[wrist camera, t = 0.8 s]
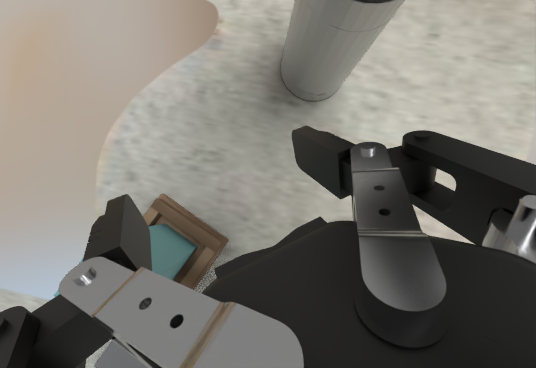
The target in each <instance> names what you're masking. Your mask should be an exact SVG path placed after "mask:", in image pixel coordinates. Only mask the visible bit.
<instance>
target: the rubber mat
mask: <svg viewBox="0 0 536 368" xmlns="http://www.w3.org/2000/svg"><path fill="white" fill-rule="evenodd" d="M94 367H96V368H148V367H147V366H145V365H144V364H143V363H141V362H140V361H139V360H137V359H136V358H135V357H133V356H132V355H131V354H129V353H128V352H127V351H125V350H124V349H123V348H122V347H120V346H119V345H118V344H116V343H115V342H114V341H112V342H111V343H110V345H109V346H108V347H107V349H106V350H105V352H104V353H103V354H102V356H101V357H100V358H99V360H98V361H97V362H96V364H95V365H94Z"/></svg>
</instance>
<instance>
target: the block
mask: <svg viewBox="0 0 536 368" xmlns="http://www.w3.org/2000/svg"><path fill="white" fill-rule="evenodd" d="M149 230H150V238H151V258H152V272H155V273H157V274H159V275H161V276H164V277H166V278H168V279H170V280H172V281H173V280H174V279H175V277H176V276H177V275H178V273H179V272H180V271H181V269H182V268H183V266H184V265H185V264H186V262H187V261H188V260H189V258H190V257H191V255H192V254H193V253H194V251H195V250H196V249H197V247H198V246H197V245H196V244H194V243H193V242H191V241H190V240H188V239H187V238H186V237H184V236H183V235H181V234H180V233H179V232H177V231H176V230H174V229H173V228H172V227H170V226H169V225H167V224H166V223H165V224H160V225H154V226H149ZM82 262H83V259H82V260H81V262H80V263H82ZM80 263H79V264H80ZM79 264H78V265H79ZM59 294H60V293H59V291H57V292H56V294H55V295H54V296H55V297H56V296H58V295H59Z"/></svg>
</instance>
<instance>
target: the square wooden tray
mask: <svg viewBox="0 0 536 368" xmlns="http://www.w3.org/2000/svg"><path fill="white" fill-rule="evenodd" d="M143 218H144V219H145V221H146V223H147V225H148V227H149V226H154V225H160V224H165V223H166V224H167V225H169V226H170V227H172V228H173V229H174V230H176V231H177V232H179V233H180V234H181V235H183V236H184V237H186V238H187V239H188V240H190V241H191V242H193V243H194V244H196V245H197V246H198V247H197V249H196V250H195V251H194V253H193V254H192V255H191V257H190V258H189V260H188V261H187V262H186V264H185V265H184V266H183V268H182V269H181V271H180V272H179V273H178V275H177V276H176V277H175V279H174V280H173V281H175V282H177V283H179V284H181V285H184V286H186V287H188V288H190V289H193V290H194V288H195V287H196V285H197V284H198V283H199V281H200V280H201V278H202V277H203V276H204V274H205V273H206V271H207V270H208V269H209V267H210V266H211V264H212V263H213V262H214V260H215V259H216V257H217V256H218V255H219V253H220V252H221V250H222V249H223V248H224V246H225V245H226V243H227V242H228V239H227V238H226V237H224V236H223V235H221V234H220V233H219V232H217V231H216V230H214V229H213V228H211V227H210V226H209V225H207V224H206V223H204V222H203V221H202V220H200V219H199V218H197V217H196V216H195V215H193V214H192V213H190V212H189V211H188V210H186V209H185V208H183V207H182V206H180V205H179V204H178V203H176V202H175V201H173V200H172V199H171V198H169V197H168V196H166V195H165V194H161V195H160V196H159V198H158V199H156V200H155V201H154V203H153V204H152V205H151V206H150V208H149V209H148V210H147V212H146V213H145V214H144V216H143Z"/></svg>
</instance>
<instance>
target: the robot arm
mask: <svg viewBox="0 0 536 368" xmlns="http://www.w3.org/2000/svg"><path fill="white" fill-rule="evenodd" d="M404 1H405V0H295V2H294V6H293V11H292V16H291V20H290V25H289V29H288V34H287V38H286V43H285V47H284V52H283V56H282V61H281V76H282V79H283V81H284V83H285V85H286V87H287V88H288V89H289V90H290V91H291V92H292V93H293V94H294V95H296V96H298V97H299V98H302V99H305V100H310V101H318V100H323V99H326V98H328V97H330V96H331V95H333V94H334V93H335V92H336V91H337V90H338V89H339V87H340V86H341V85H342V83H343V82H344V81H345V79H346V78H347V77H348V76H349V74H350V73H351V72H352V70H353V69H354V68H355V66H356V65H357V64H358V62H359V61H360V60H361V58H362V57H363V56H364V54H365V53H366V52H367V50H368V49H369V48H370V46H371V45H372V44H373V42H374V41H375V40H376V38H377V37H378V36H379V34H380V33H381V32H382V30H383V29H384V28H385V26H386V25H387V24H388V22H389V21H390V20H391V18H392V17H393V16H394V14H395V13H396V11H397V10H398V9H399V7H400V6H401V5H402V3H403V2H404ZM292 141H293V147H294V153H295V158H296V162H297V164H298V166H299V168H300V169H301V170H302V171H304V172H305V173H306V174H308V175H309V176H310V177H312V178H313V179H314V180H316V181H317V182H318V183H320V184H321V185H322V186H323V187H325V188H326V189H327V190H329V191H330V192H331V193H333V194H334V195H335V196H337V197H338V198H339V199H343V198H345V197H347V196H349V195H351V196H352V212H353V221H334V222H329V223H327V222H326V221H325V220H323V219H322V218H321V217H318V218H316V219H314V220H312V221H310V222H308V223H306V224H304V225H302V226H300V227H298V228H296V229H295V230H294V231H292V232H291V233H290V234H289V235H287V236H286V237H285V238H284V239H282V240H281V241H280V242H279V243H277V244H276V245H275V246H273V247H270V248H266V249H262V250H259V251H255V252H251V253H248V254H244V255H241V256H239V257H237V258H235V259H233V260H231V261H229V262H227V263H225V264H223V265H221V266H219V267H217V268H215V269H214V270H215V273H216V276H217V279H215V280H214V281H213V282H212V283H211V284H210V285H209V286H208V287H207V288H206V289H205V290H204V291H203V292H202V293H199V292H197V291H195V290H193V289H190V288H188V287H186V286H184V285H181V284H179V283H177V282H175V281H172V280H170V279H168V278H166V277H164V276H161V275H159V274H157V273H155V272H152V258H151V238H150V230H149V227H148V225H147V223H146V221H145V219H144V218H143V216H142V215H141V213H140V212H139V210H138V208H137V207H136V205H135V204H134V202H133V200H132V199H131V197H130V196H129V195H128V194H125V195H123V196H120V197H117V198H115V199H112V200H109V201H108V202H107V207H106V212H105V215H102V216H100V217H99V218H98V219H97V221H96V222H95V223H94V224H93V226H92V229H91V232H90V236H89V240H88V242H89V243H87V247H86V251H85V254H84V258H83V262H82V263H80V264H79V265H77V266H76V267H74V268H73V269H72V270H71V271H70V272H69V273H68V274H67V275H66V276H65V277H64V278H63V280H62V281H61V283H60V285H59V290H58V291H59V293H60V294H59V295H58V296H56V297H55V298H53V299H52V300H50V301H49V302H47V303H46V304H44V305H43V306H41V307H40V308H38V309H37V310H35V311H33V312H32V313H31V312H29V311H28V310H27V309H25V308H24V307H22V306H16V307H12V308H9V309H7V310H4V311H2V312H0V368H85V364H86V359H87V358H88V357H89V356H90V355H92V354H93V353H94V352H95V351H97V350H98V349H99V348H100V347H101V346H103V345H104V344H105V343H106V342H108V341H109V340H110V339H111V340H112V341H114V342H115V343H116V344H118V345H119V346H120V347H122V348H123V349H124V350H125V351H127V352H128V353H129V354H131V355H132V356H133V357H135V358H136V359H137V360H139V361H140V362H141V363H143V364H144V365H145V366H147V367H148V368H536V165H534V164H531V163H528V162H525V161H522V160H519V159H516V158H513V157H510V156H507V155H504V154H501V153H497V152H494V151H491V150H488V149H485V148H482V147H479V146H476V145H473V144H470V143H467V142H464V141H461V140H457V139H454V138H451V137H448V136H445V135H442V134H439V133H436V132H432V131H413V132H409V133H407V134H405V135H404V136H403V140H402V146H398V147H394V148H389V149H387V148H386V147H385V146H384V145H383V144H380V143H376V142H363V143H359V144H356V145H355V144H353V143H351V142H349V141H347V140H344V139H342V138H340V137H338V136H335V135H333V134H331V133H329V132H324V131H318V130H315V129H313V128H311V127H309V126H303V127H301V128H298V129H296V130H293V131H292ZM437 169H440V170H442V171H444V172H446V173H448V174H450V175H452V176H453V178H454V179H455V181H456V190H455V191H453V190H451V189H449V188H447V187H445V186H443V185H441V184H439V183H437V182H435V176H436V171H437ZM412 204H413V205H415V206H416V207H418V208H419V209H421V210H422V211H424V212H426V213H427V214H429V215H430V216H432V217H433V218H435V219H437V220H438V221H440V222H441V223H443V224H444V225H446V226H447V227H449V228H451V229H452V230H454V231H455V232H457V233H458V234H460V235H462V236H463V237H465V238H466V239H468V240H469V241H471V242H473V243H474V244H470V243H465V242H459V241H454V240H449V239H444V238H439V237H434V236H429V235H427V234H425V233H423V232H422V230H421V228H420V225H419V222H418V219H417V217H416V214H415V211H414V208H413V205H412ZM475 244H476V245H475Z"/></svg>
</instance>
